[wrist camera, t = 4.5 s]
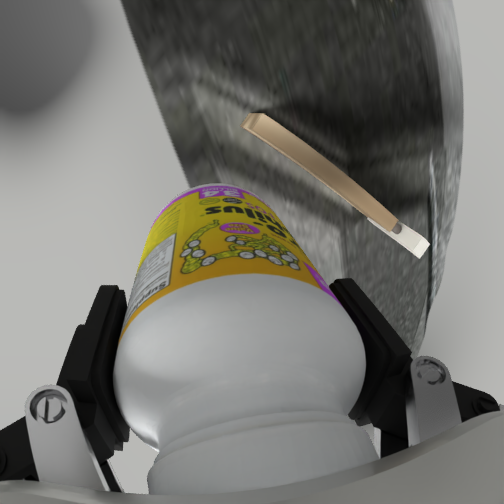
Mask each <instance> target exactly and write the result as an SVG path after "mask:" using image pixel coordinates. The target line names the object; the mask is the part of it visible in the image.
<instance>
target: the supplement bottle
mask: <svg viewBox="0 0 504 504" xmlns="http://www.w3.org/2000/svg"><path fill="white" fill-rule="evenodd" d="M365 371H366V357H365V350H364V345H363V342H362V339H361V336H360V334H359V332H358V330H357V327H356V326H355V324H354V323H353V321H352V320H351V318H350V316H349V315H348V313H347V312H346V311H345V309H344V308H343V306H342V305H341V304H340V302H339V301H338V299H337V298H336V297H335V295H334V294H333V293H332V291H331V290H330V288H329V287H328V286H327V284H326V283H325V281H324V280H323V278H322V277H321V276H320V274H319V273H318V271H317V270H316V268H315V267H314V266H313V264H312V263H311V261H310V260H309V259H308V257H307V256H306V254H305V253H304V252H303V250H302V249H301V248H300V246H299V245H298V243H297V242H296V241H295V239H294V238H293V237H292V235H291V234H290V233H289V231H288V230H287V229H286V227H285V226H284V225H283V223H282V222H281V221H280V219H279V218H278V217H277V215H276V214H275V213H274V211H273V210H272V209H271V208H270V207H269V206H268V204H266V203H265V202H264V201H263V200H262V199H261V198H260V197H258V196H257V195H256V194H254V193H252V192H250V191H248V190H246V189H244V188H241V187H238V186H235V185H230V184H220V183H217V184H205V185H200V186H197V187H194V188H191V189H188V190H186V191H184V192H182V193H181V194H179V195H177V196H176V197H174V198H173V199H172V200H171V201H170V202H169V203H168V204H167V205H166V206H165V207H164V208H163V209H162V210H161V212H160V213H159V215H158V216H157V218H156V220H155V221H154V223H153V225H152V227H151V230H150V232H149V235H148V238H147V241H146V244H145V247H144V250H143V254H142V257H141V260H140V264H139V267H138V270H137V274H136V277H135V281H134V285H133V288H132V292H131V295H130V299H129V303H128V307H127V311H126V314H125V318H124V322H123V326H122V330H121V335H120V338H119V342H118V348H117V353H116V358H115V364H114V370H113V388H114V394H115V399H116V403H117V405H118V408H119V410H120V413H121V415H122V416H123V418H124V420H125V421H126V423H127V425H128V426H129V427H130V428H131V430H132V431H133V432H134V433H135V434H136V435H137V436H138V437H139V438H140V439H141V440H142V441H143V442H144V443H146V444H147V445H149V446H150V447H151V448H153V449H154V450H156V451H158V452H159V454H158V455H157V457H156V459H155V461H154V465H153V466H152V468H151V469H150V470H149V473H148V476H147V482H148V488H149V494H150V495H201V494H218V493H230V492H240V491H248V490H256V489H263V488H269V487H276V486H281V485H287V484H292V483H297V482H301V481H306V480H310V479H315V478H319V477H323V476H327V475H330V474H334V473H338V472H341V471H345V470H348V469H351V468H354V467H358V466H361V465H364V464H367V463H370V462H373V461H376V460H378V459H380V458H379V456H378V454H377V452H376V450H375V447H374V445H373V443H372V441H371V439H370V437H369V435H368V433H367V432H366V431H365V430H364V429H363V428H361V427H360V426H357V424H356V423H355V422H354V421H353V420H351V419H350V418H348V417H346V416H347V415H348V413H349V412H350V411H351V409H352V408H353V406H354V404H355V403H356V401H357V399H358V397H359V394H360V392H361V389H362V386H363V382H364V378H365Z"/></svg>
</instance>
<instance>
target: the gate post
mask: <svg viewBox="0 0 504 504" xmlns="http://www.w3.org/2000/svg"><path fill="white" fill-rule="evenodd" d="M367 219H368V220H369V221H370V222H371V223H373V224H374V225H375V226H377V227H378V228H379V229H381V230H382V231H384V232H385V233H386V234H388V235H389V236H390V237H392V238H393V239H394V240H396V241H397V242H398V243H400V244H401V245H402V246H404V247H405V248H406V249H408V250H409V251H410V252H412V253H413V254H414V255H415V256H417V257H418V258H419V259H420V257H421V256H422V255H423V253H424V252H425V250H426V249H427V248H428V246H429V245H430V244H429V243H428V242H427V241H426V239H425V238H424V237H422V236H421V235H419V234H418V233H416V232H415V231H413V230H412V229H410V228H409V227H407V226H406V225H404V224H403V223H401V222H400V221H398V222H397V223H398V224H399V225H401V227H402V230H401V232H400V233H399V234H395V233H394V232H392V231H391V232H389V231H387V230H386V229H384V228H383V227H382V226H380V225H379V224H377V223H376V222H374V221H373V220H372V219H370V218H369V217H368V218H367Z"/></svg>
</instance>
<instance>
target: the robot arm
mask: <svg viewBox="0 0 504 504" xmlns="http://www.w3.org/2000/svg"><path fill="white" fill-rule="evenodd" d="M329 288H330V290H331V291H332V293H333V294H334V295H335V297H336V298H337V299H338V301H339V302H340V304H341V305H342V306H343V308H344V309H345V311H346V312H347V313H348V315H349V316H350V318H351V320H352V321H353V323H354V324H355V326H356V327H357V330H358V332H359V334H360V336H361V339H362V342H363V345H364V350H365V357H366V371H365V378H364V382H363V386H362V389H361V392H360V394H359V397H358V399H357V401H356V403H355V404H354V406H353V408H352V409H351V411H350V412H349V413H348V416H349V417H350V419H351V420H355V422H356V424H357V426H363V425H366V424H370V423H372V424H373V426H374V427H375V428H374V447H375V450H376V452H377V454H378V456H379V458H380V459H378V460H376V461H373V462H370V463H367V464H364V465H361V466H358V467H354V468H351V469H348V470H345V471H341V472H338V473H334V474H330V475H327V476H323V477H319V478H315V479H310V480H306V481H301V482H297V483H292V484H287V485H281V486H276V487H269V488H263V489H256V490H248V491H240V492H230V493H218V494H201V495H150V494H133V493H125V492H124V490H123V488H122V487H121V484H120V482H119V480H118V478H117V476H116V474H115V472H114V470H113V468H112V465H111V463H110V461H109V458H110V457H112V456H113V455H114V450H118V451H123V442H128V441H129V431H130V427H129V426H128V425H127V423H126V421H125V420H124V418H123V416H122V415H121V413H120V410H119V408H118V405H117V403H116V399H115V394H114V388H113V370H114V364H115V358H116V353H117V348H118V342H119V338H120V335H121V330H122V326H123V322H124V318H125V314H126V311H127V302H126V297H125V292H124V290H119V287H118V286H117V285H101V286H100V288H99V290H98V293H97V295H96V298H95V300H94V302H93V305H92V307H91V310H90V312H89V315H88V317H87V320H86V323H85V325H81V324H80V325H78V327H77V328H76V331H75V334H74V336H73V338H72V341H71V344H70V346H69V349H68V352H67V355H66V357H65V360H64V363H63V366H62V369H61V372H60V375H59V378H58V381H57V384H56V385H44V386H42V387H39V388H37V389H36V390H34V391H33V392H32V393H31V394H30V395H29V397H28V398H27V400H26V404H25V416H24V417H23V418H21V419H19V420H17V421H16V422H14V423H12V424H11V425H9V426H7V427H6V428H4V429H2V430H0V504H504V405H501V404H500V405H499V406H498V403H497V402H496V400H495V399H494V398H493V397H492V396H491V395H490V394H487V393H485V392H482V391H479V390H476V389H473V388H471V387H468V386H464V385H462V384H459V383H456V382H453V381H452V380H451V377H450V373H449V371H448V369H447V367H446V366H445V365H444V364H443V363H442V362H441V361H439V360H437V359H436V358H433V357H429V356H420V357H417V358H415V359H414V360H413V359H412V358H411V357H410V355H411V353H412V352H411V351H410V349H409V348H408V347H407V345H406V344H405V343H404V342H403V340H402V339H401V338H400V336H399V335H398V334H397V333H396V331H395V330H394V329H393V328H392V326H391V325H390V324H389V323H388V321H387V320H386V319H385V318H384V316H383V315H382V314H381V313H380V312H379V310H378V309H377V308H376V307H375V305H374V304H373V303H372V302H371V301H370V299H369V298H368V297H367V296H366V295H365V293H364V292H363V291H362V290H361V289H360V287H359V286H358V285H357V284H356V283H355V282H354V280H353V279H351V278H345V279H336V280H335V281H334V283H331V284H330V285H329Z"/></svg>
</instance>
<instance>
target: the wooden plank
mask: <svg viewBox="0 0 504 504" xmlns="http://www.w3.org/2000/svg"><path fill="white" fill-rule="evenodd" d="M241 127H242V128H244V129H245V130H247V131H248V132H250V133H252V134H253V135H255V136H256V137H258V138H259V139H261V140H262V141H264V142H265V143H267V144H268V145H270V146H271V147H273V148H274V149H276V150H277V151H279V152H280V153H282V154H283V155H285V156H286V157H287V158H289V159H290V160H292V161H293V162H295V163H296V164H297V165H299V166H300V167H302V168H303V169H304V170H306V171H307V172H309V173H310V174H311V175H313V176H314V177H316V178H317V179H318V180H320V181H321V182H322V183H324V184H325V185H326V186H328V187H329V188H330V189H332V190H333V191H334V192H336V193H337V194H338V195H340V196H341V197H342V198H343V199H345V200H346V201H347V202H349V203H350V204H351V205H352V206H354V207H355V208H356V209H358V210H359V211H360V212H361V213H363V214H364V215H366V216H367V217H369V218H370V219H372V220H373V221H374V222H376V223H377V224H379V225H380V226H382V227H383V228H384V229H386V230H387V231H389V232H391V231H392V232H394V233H395V234H399V233H400V232H401V230H402V227H401V225H399V224H398V223H397V222H398V219H397V218H395V217H394V216H393V215H392V214H391V213H390V212H389V211H388V210H387V209H386V208H384V207H383V206H382V205H381V204H380V203H379V202H378V201H377V200H375V199H374V198H373V197H372V196H371V195H370V194H369V193H367V192H366V191H365V190H364V189H363V188H362V187H360V186H359V185H358V184H357V183H356V182H354V181H353V180H352V179H351V178H350V177H348V176H347V175H346V174H345V173H343V172H342V171H341V170H340V169H338V168H337V167H336V166H335V165H333V164H332V163H331V162H330V161H328V160H327V159H326V158H324V157H323V156H322V155H321V154H319V153H318V152H317V151H315V150H314V149H313V148H311V147H310V146H309V145H307V144H306V143H305V142H303V141H302V140H301V139H299V138H298V137H296V136H295V135H294V134H292V133H291V132H289V131H288V130H287V129H285V128H284V127H282V126H281V125H280V124H278V123H277V122H275V121H274V120H272V119H271V118H269V117H268V116H266V115H265V114H263V113H249V114H248V115H247V117H246V118H245V120H244V121H243V123H242V124H241Z"/></svg>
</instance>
